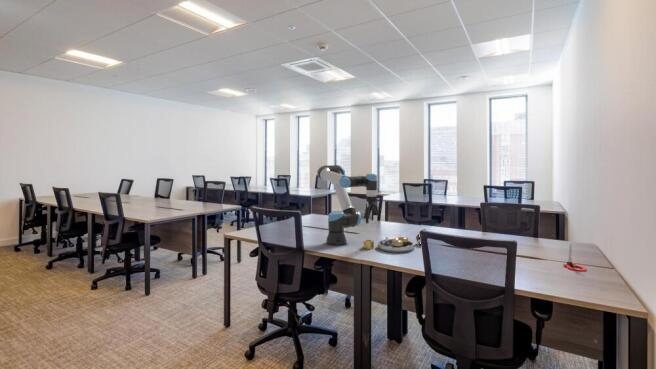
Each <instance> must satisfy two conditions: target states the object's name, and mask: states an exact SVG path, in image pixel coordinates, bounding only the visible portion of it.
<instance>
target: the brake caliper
mask: <svg viewBox="0 0 656 369" xmlns="http://www.w3.org/2000/svg"><path fill="white" fill-rule="evenodd" d="M422 230H426V229H425V228H424V229H422ZM415 238H416V239H415V240H416V242H417V243H416V245H417V246H418V247H420V237H419V233H418V234H417V235H416V236H415Z"/></svg>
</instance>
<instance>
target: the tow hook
mask: <svg viewBox="0 0 656 369" xmlns="http://www.w3.org/2000/svg"><path fill="white" fill-rule="evenodd" d="M572 245H573V244H572V243H569V249H568V257H567V261H566V263H565V264H562V266H563V267H564V268H567V269H568V270H571V271H575V272H587V268H586V267H585V266H582V265H578V264H576V263H573V261H572V260H573V258H572V254H573V253H572V251H573V247H572Z"/></svg>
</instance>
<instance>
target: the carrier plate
mask: <svg viewBox="0 0 656 369" xmlns="http://www.w3.org/2000/svg"><path fill="white" fill-rule="evenodd" d="M377 248H378V250H380V251H382V252H385V253H391V254H403V253H404V254H406V253H411V252H413V251H414V250H415V243H414V242H413V241H411V240H409V237H407V236H399V237H397V238H395V237H394V238H389V237H388V236H385V239H382V240H379V241H378V242H377Z"/></svg>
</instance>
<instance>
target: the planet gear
mask: <svg viewBox="0 0 656 369" xmlns="http://www.w3.org/2000/svg"><path fill="white" fill-rule="evenodd" d="M374 248H375V241H374V240H373V239H364V240H363V249H366V250H373V249H374Z"/></svg>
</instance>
